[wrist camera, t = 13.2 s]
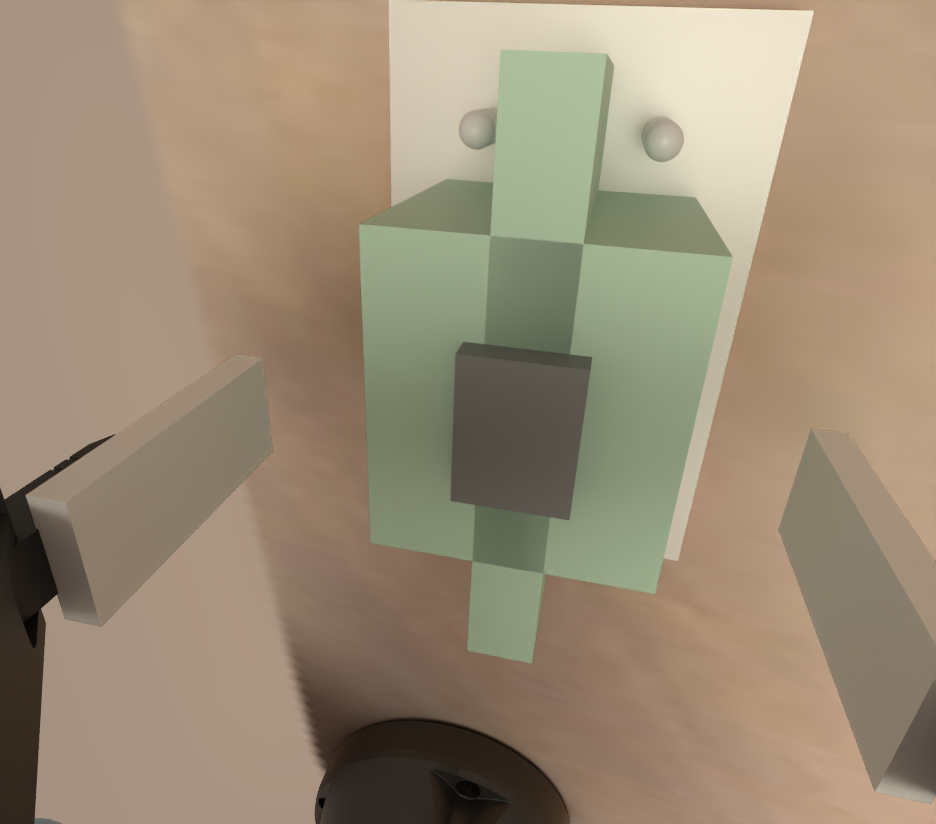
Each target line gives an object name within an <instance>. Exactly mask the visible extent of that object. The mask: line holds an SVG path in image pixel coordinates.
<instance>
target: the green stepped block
mask: <svg viewBox="0 0 936 824" xmlns="http://www.w3.org/2000/svg"><path fill="white" fill-rule="evenodd" d="M613 73H614V64H613V63H612V61H611V59H610V58H609V56H608V54H606V53H580V52H553V51H526V50H501V52H500V70H499V88H498V106H497V124H496V142H495V160H494V178H493V182H479V181H466V180H452V179H445V180H444V181H442V182H440V183H438V184H436V185H434V186H432V187H430V188H428V189H426V190H424V191H422V192H420V193H418V194H416V195H414V196H412V197H410V198H408V199H407V200H405V201H403V202H401V203H399V204H397V205H395V206H393V207H391V208H389V209H387V210H385V211H383V212H381V213H379V214H377V215H375V216H373V217H371V218H369V219H368V220H366V221H364V222H362V223H360V224H359V247H360V274H361V301H362V328H363V355H364V382H365V409H366V436H367V463H368V490H369V517H370V543H373V544H379V545H384V546H390V547H396V548H401V549H407V550H412V551H418V552H424V553H429V554H435V555H440V556H446V557H451V558H457V559H463V560H468V561H472V572H471V590H470V608H469V626H468V644H467V651H472V652H476V653H481V654H486V655H491V656H496V657H501V658H506V659H511V660H516V661H521V662H525V663H530V664H532V662H533V656H534V650H535V644H536V637H537V631H538V625H539V619H540V613H541V607H542V601H543V595H544V589H545V583H546V577H547V575H552V576H558V577H563V578H569V579H574V580H580V581H585V582H591V583H597V584H602V585H608V586H613V587H619V588H625V589H630V590H636V591H641V592H647V593H652V594H655V593H656V588H657V584H658V580H659V576H660V571H661V567H662V563H663V558H664V554H665V550H666V545H667V541H668V537H669V532H670V528H671V524H672V519H673V515H674V511H675V506H676V502H677V498H678V493H679V489H680V485H681V480H682V476H683V472H684V467H685V463H686V459H687V454H688V450H689V446H690V441H691V437H692V433H693V429H694V424H695V420H696V416H697V411H698V407H699V403H700V398H701V394H702V390H703V385H704V381H705V377H706V372H707V368H708V364H709V359H710V355H711V351H712V346H713V342H714V338H715V333H716V329H717V325H718V320H719V316H720V312H721V307H722V303H723V299H724V294H725V290H726V286H727V282H728V277H729V273H730V269H731V264H732V260H733V256H732V255H731V253H730V251H729V250H728V248H727V247H726V245H725V243H724V242H723V240H722V239H721V237H720V235H719V234H718V232H717V231H716V229H715V227H714V226H713V224H712V222H711V221H710V219H709V218H708V216H707V214H706V213H705V211H704V210H703V208H702V206H701V205H700V203H699V202H698V200H697V198H696V197H682V196H669V195H655V194H642V193H628V192H614V191H601V190H599V182H600V174H601V166H602V158H603V151H604V143H605V135H606V127H607V119H608V112H609V104H610V96H611V88H612V80H613Z"/></svg>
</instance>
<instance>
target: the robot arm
mask: <svg viewBox="0 0 936 824" xmlns="http://www.w3.org/2000/svg"><path fill="white" fill-rule="evenodd" d="M272 452H273V448H272V438H271V429H270V419H269V410H268V400H267V391H266V382H265V372H264V363H263V358H260V357H252V356H244V355H237V354H235V355H234V356H232V357H231V358H229V359H228V360H226V361H225V362H223V363H222V364H220V365H219V366H217V367H216V368H214V369H213V370H211V371H210V372H208V373H207V374H205V375H204V376H202V377H201V378H200V379H198V380H197V381H195V382H194V383H192V384H191V385H189V386H188V387H186V388H185V389H183V390H182V391H180V392H179V393H177V394H176V395H174V396H173V397H172V398H170V399H168V400H167V401H165V402H164V403H162V404H161V405H160V406H158V407H156V408H155V409H153V410H152V411H150V412H149V413H147V414H146V415H144V416H143V417H141V418H140V419H138V420H137V421H135V422H134V423H132V424H131V425H130V426H128V427H126V428H125V429H123V430H122V431H121V432H119V433H118V434H116V435H115V434H114V435H112V436H109V437H107V438H104V439H101V440H99V441H97V442H94V443H91V444H89V445H87V446H86V447H84V448H83V449H81V450H80V451H78V452H77V453H75V454H74V455H72V456H71V457H70V459H69V460H64V461H63V462H61V463H60V464H58V465H57V466H55V467H54V470H49V471H48V472H46V473H45V474H43V475H41V476H40V477H38V478H37V479H35V480H34V481H33V482H31V483H29V484H28V485H26V486H25V487H23V488H22V489H20V490H19V491H17V492H16V493H14V494H12V495H11V496H9V497H8V498H6V499H5V500H4V498H3V495H2V492H1V489H0V824H61V823H59V822H57V821H53V820H51V819H44V818H35V802H36V785H37V768H38V750H39V733H40V715H41V698H42V680H43V663H44V646H45V628H46V623H45V619H44V616H43V613H42V610H41V608H42V607H43V606H44V605H45V604H46V603H48V602H49V601H50V600H51V599H52V598H53V597H54V596H56V595H57V596H58V599H59V602H60V605H61V608H62V611H63V615H64V618H65V619H67V620H72V621H76V622H81V623H86V624H91V625H95V626H100V627H102V626H103V625H104V624H105V623H106V621H107V620H108V619H109V618H110V617H111V616H112V615H113V614H114V613H115V612H116V611H117V610H118V609H119V608H120V607H121V606H122V605H123V604H124V603H125V602H126V601H127V600H128V599H129V598H130V597H131V596H132V595H133V594H134V593H135V592H136V591H137V590H138V589H139V587H141V586H142V585H143V584H144V582H146V580H148V578H150V576H151V575H152V574H153V573H154V572H155V571H156V570H157V569H158V568H159V567H160V566H161V565H162V564H163V563H164V562H165V561H166V560H167V559H168V558H169V557H170V556H171V555H172V554H173V553H174V552H175V551H176V550H177V549H178V548H179V547H180V546H181V545H182V544H183V543H184V542H185V541H186V540H187V539H188V538H189V537H190V536H191V534H193V533H194V531H195V530H196V529H197V528H198V527H199V526H200V525H201V524H202V523H203V522H204V521H205V520H206V519H207V518H208V517H209V516H210V515H211V514H212V513H213V512H214V511H215V510H216V509H217V508H218V507H219V506H220V505H221V504H222V503H223V502H224V501H225V500H226V499H227V497H229V496H230V495H231V494H232V492H234V491H235V490H236V489H237V488H238V486H239V485H240V484H241V483H242V482H243V481H244V480H245V479H246V478H247V477H248V476H249V475H250V474H251V473H252V472H253V471H254V470H255V469H256V468H257V467H258V466H259V465H260V464H261V463H262V462H263V461H264V460H265V459H266V458H267V457H268V456H269V455H270V454H271V453H272ZM779 532H780V535H781V537H782V540H783V543H784V546H785V548H786V551H787V554H788V557H789V559H790V562H791V565H792V567H793V570H794V573H795V576H796V578H797V581H798V584H799V587H800V589H801V592H802V595H803V598H804V600H805V603H806V606H807V608H808V611H809V614H810V617H811V619H812V622H813V625H814V628H815V630H816V633H817V636H818V638H819V641H820V644H821V647H822V649H823V652H824V655H825V658H826V660H827V663H828V666H829V669H830V671H831V674H832V677H833V679H834V682H835V685H836V688H837V690H838V693H839V696H840V699H841V701H842V704H843V707H844V709H845V712H846V715H847V718H848V720H849V723H850V726H851V729H852V731H853V734H854V737H855V739H856V742H857V745H858V748H859V750H860V753H861V756H862V759H863V761H864V764H865V767H866V770H867V772H868V775H869V778H870V780H871V783H872V786H873V789H874V791H875V792H876V793H881V794H886V795H890V796H895V797H900V798H904V799H909V800H914V801H918V802H923V803H928V804H931V803H932V802H933V800H934V798H935V797H936V561H935V560H934V558H933V557H932V556H931V554H930V553H929V551H928V550H927V548H926V547H925V545H924V544H923V542H922V541H921V539H920V538H919V536H918V535H917V533H916V532H915V530H914V529H913V528H912V526H911V525H910V523H909V522H908V520H907V519H906V517H905V516H904V514H903V513H902V511H901V510H900V508H899V507H898V505H897V504H896V502H895V501H894V500H893V498H892V497H891V495H890V494H889V492H888V491H887V489H886V488H885V486H884V485H883V483H882V482H881V480H880V479H879V477H878V476H877V474H876V473H875V472H874V470H873V469H872V467H871V466H870V464H869V463H868V461H867V460H866V458H865V457H864V455H863V454H862V452H861V451H860V449H859V448H858V447H857V445H856V444H855V442H854V441H853V439H852V438H851V436H850V435H849V433H842V432H834V431H827V430H819V429H811V431H810V434H809V437H808V440H807V443H806V446H805V450H804V453H803V456H802V459H801V462H800V465H799V468H798V471H797V474H796V477H795V480H794V483H793V487H792V490H791V493H790V496H789V499H788V502H787V505H786V508H785V511H784V514H783V517H782V520H781V524H780V527H779ZM315 821H316V824H570V822H569V817H568V813H567V810H566V808H565V805H564V803H563V801H562V800H561V798H560V796H559V794H558V793H557V791H556V790H555V789H554V787H553V786H552V785H551V784H550V782H549V781H548V780H547V779H546V778H545V777H544V776H543V775H542V774H541V773H540V772H539V771H538V770H537V769H536V768H534V767H533V766H532V765H531V764H530V763H528V762H527V761H526V760H524V759H523V758H522V757H520V756H519V755H517V754H516V753H514V752H512V751H511V750H509V749H507V748H506V747H504V746H502V745H500V744H498V743H496V742H494V741H492V740H490V739H488V738H485V737H483V736H480V735H478V734H475V733H472V732H469V731H466V730H463V729H460V728H456V727H452V726H448V725H443V724H438V723H431V722H422V721H395V722H387V723H381V724H377V725H373V726H370V727H367V728H364V729H362V730H360V731H358V732H356V733H354V734H352V735H351V736H349V737H348V738H347V739H346V740H344V741H343V742H342V743H341V744H340V746H339V747H338V748H337V750H336V751H335V753H334V755H333V757H332V759H331V761H330V764H329V766H328V768H327V771H326V773H325V775H324V777H323V780H322V782H321V784H320V787H319V790H318V794H317V798H316V805H315Z"/></svg>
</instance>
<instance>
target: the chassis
mask: <svg viewBox="0 0 936 824" xmlns="http://www.w3.org/2000/svg"><path fill="white" fill-rule="evenodd" d="M813 13H814V11H796V10H759V9H721V8H683V7H646V6H608V5H570V4H533V3H495V2H457V1H420V0H389V55H390V136H391V207H393V206H395V205H397V204H399V203H401V202H403V201H405V200H407V199H408V198H410V197H412V196H414V195H416V194H418V193H420V192H422V191H424V190H426V189H428V188H430V187H432V186H434V185H436V184H438V183H440V182H442V181H444V180H445V179H452V180H466V181H479V182H493V178H494V160H495V142H496V124H497V106H498V88H499V70H500V52H501V50H526V51H553V52H580V53H606V54H608V56H609V58H610V59H611V61H612V63H613V64H614V73H613V80H612V88H611V96H610V104H609V112H608V119H607V127H606V135H605V143H604V151H603V158H602V166H601V174H600V182H599V190H601V191H614V192H628V193H642V194H655V195H669V196H682V197H696V198H697V200H698V202H699V203H700V205H701V206H702V208H703V210H704V211H705V213H706V214H707V216H708V218H709V219H710V221H711V222H712V224H713V226H714V227H715V229H716V231H717V232H718V234H719V235H720V237H721V239H722V240H723V242H724V243H725V245H726V247H727V248H728V250H729V251H730V253H731V255H732V256H733V260H732V264H731V269H730V273H729V277H728V282H727V286H726V290H725V294H724V299H723V303H722V307H721V312H720V316H719V320H718V325H717V329H716V333H715V338H714V342H713V346H712V351H711V355H710V359H709V364H708V368H707V372H706V377H705V381H704V385H703V390H702V394H701V398H700V403H699V407H698V411H697V416H696V420H695V424H694V429H693V433H692V437H691V441H690V446H689V450H688V454H687V459H686V463H685V467H684V472H683V476H682V480H681V485H680V489H679V493H678V498H677V502H676V506H675V511H674V515H673V519H672V524H671V528H670V532H669V537H668V541H667V545H666V550H665V554H664V558H663V559H669V560H675V561H678V558H679V554H680V550H681V546H682V542H683V538H684V534H685V530H686V526H687V522H688V518H689V514H690V510H691V506H692V502H693V498H694V494H695V490H696V486H697V481H698V477H699V473H700V469H701V465H702V461H703V457H704V453H705V449H706V445H707V441H708V437H709V433H710V429H711V425H712V421H713V417H714V413H715V409H716V405H717V401H718V397H719V393H720V389H721V385H722V380H723V376H724V372H725V368H726V364H727V360H728V356H729V352H730V348H731V344H732V340H733V336H734V332H735V328H736V324H737V320H738V316H739V312H740V308H741V304H742V300H743V296H744V292H745V288H746V284H747V280H748V275H749V271H750V267H751V263H752V259H753V255H754V251H755V247H756V243H757V239H758V235H759V231H760V227H761V223H762V219H763V215H764V211H765V207H766V203H767V199H768V195H769V191H770V187H771V183H772V179H773V174H774V170H775V166H776V162H777V158H778V154H779V150H780V146H781V142H782V138H783V134H784V130H785V126H786V122H787V118H788V114H789V110H790V106H791V102H792V98H793V94H794V90H795V86H796V82H797V78H798V74H799V69H800V65H801V61H802V57H803V53H804V49H805V45H806V41H807V37H808V33H809V29H810V25H811V21H812V17H813Z"/></svg>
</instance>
